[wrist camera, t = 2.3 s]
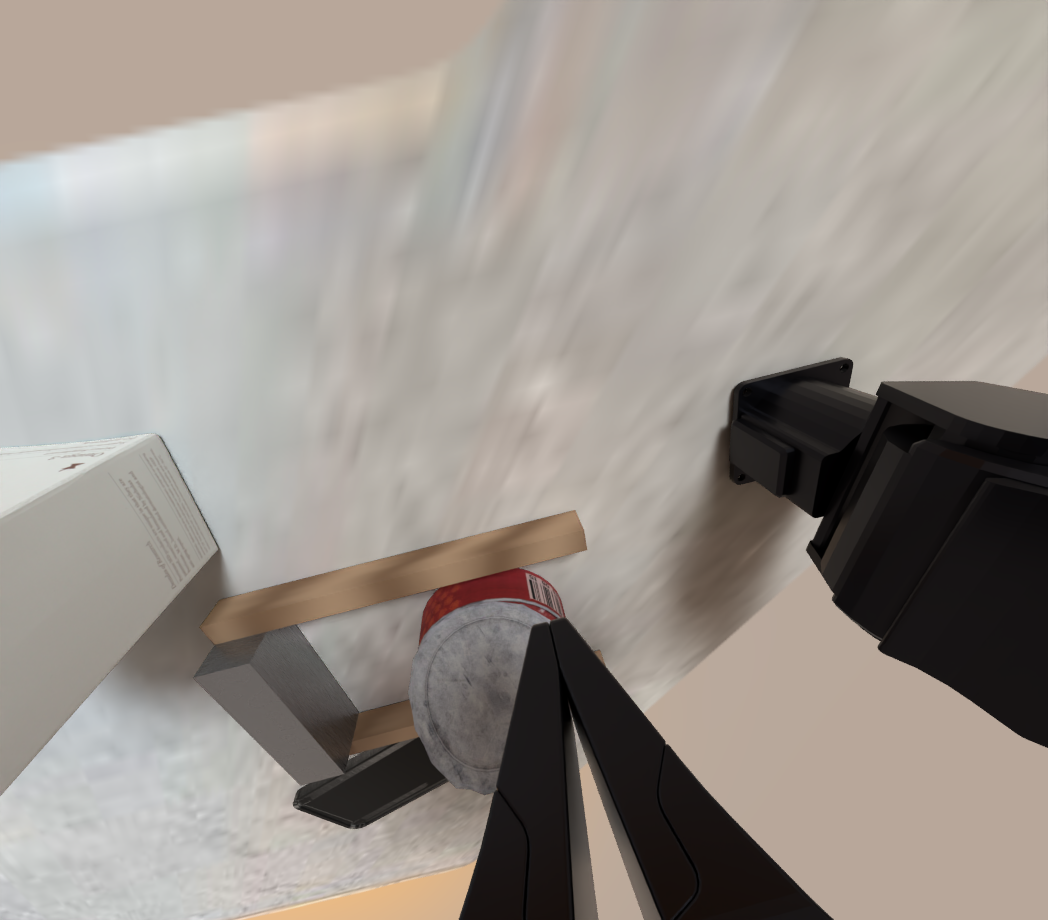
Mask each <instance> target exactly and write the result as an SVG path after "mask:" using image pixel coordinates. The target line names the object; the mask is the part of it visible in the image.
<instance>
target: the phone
mask: <svg viewBox="0 0 1048 920" xmlns="http://www.w3.org/2000/svg"><path fill="white" fill-rule="evenodd" d="M448 781H449V780H448V779H447V778H446V777H445V776H444V775H443V774H442V773H441V772H440V771H439V770H438V769H437V768H436V767H435V766H434V765H433V764H432V763H431V761H430V758H429V756H428V754H427V751H426V749H425V747H424V744H423V743H422V741H421V739H420V737H417V738H413V739H409V740H405V741H401V742H398V743H394V744H390V745H386V746H382V747H379V748H375V749H371V750H367V751H364V752H362V753H360V754H359V755H357V756H355V757H354V758H352V759H350V760H348V762H347V766H346V770H345V774H343V775H339V776H335V777H331V778H327V779H324V780H320V781H316V782H312V783H309V784H307V785H306V786H304V787H302V788H301V789H299V790H298V791H297V793H296V796H295V799H294V802H293V806H294V808H296V809H298V810H300V811H303V812H306V813H308V814H311V815H314V816H316V817H319V818H322V819H325V820H327V821H330V822H333V823H335V824H338V825H341V826H343V827H346V828H350V829H358V828H363V827H365V826H367V825H369V824H371V823H373V822H374V821H376V820H378V819H380V818H382V817H384V816H385V815H387V814H389V813H391V812H393V811H395V810H397V809H398V808H400V807H402V806H404V805H406V804H408V803H409V802H411V801H413V800H415V799H417V798H419V797H421V796H422V795H424V794H426V793H428V792H430V791H432V790H433V789H435V788H437V787H439V786H441V785H443V784H445V783H446V782H448Z"/></svg>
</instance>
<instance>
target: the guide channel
mask: <svg viewBox="0 0 1048 920" xmlns="http://www.w3.org/2000/svg"><path fill="white" fill-rule="evenodd" d="M585 550H587V546H586V540H585V534H584V529H583V527H582V525H581V522H580V520H579V518H578V516H577V513H576V511H575V510H573V511H569V512H566V513H562V514H558V515H554V516H550V517H546V518H542V519H538V520H534V521H530V522H526V523H522V524H518V525H514V526H510V527H506V528H502V529H498V530H494V531H490V532H486V533H482V534H478V535H474V536H470V537H467V538H463V539H459V540H455V541H451V542H447V543H443V544H439V545H435V546H431V547H427V548H423V549H419V550H415V551H411V552H407V553H403V554H399V555H395V556H391V557H387V558H383V559H379V560H375V561H371V562H368V563H364V564H360V565H356V566H352V567H348V568H344V569H340V570H336V571H332V572H328V573H324V574H320V575H316V576H312V577H308V578H304V579H300V580H296V581H292V582H288V583H284V584H280V585H276V586H272V587H269V588H265V589H261V590H257V591H253V592H249V593H245V594H241V595H237V596H233V597H229V598H225V599H221V600H219V601H218V603H217V604H216V605H215V607H214V608H213V609H212V611H211V612H210V614H209V615H208V616H207V618H206V619H205V620H204V622H203V623H202V624H201V626H200V627H199V628H200V629H201V630H202V631H203V632H204V633H205V635H206V636H207V637H208V638H209V639H210V640H211V641H212V642H213V643H214V645H216V644H220V643H224V642H228V641H232V640H236V639H240V638H244V637H248V636H252V635H256V634H260V633H263V632H267V631H271V630H275V629H279V628H283V627H287V626H291V625H295V624H299V623H303V622H307V621H311V620H314V619H318V618H322V617H326V616H330V615H334V614H338V613H342V612H346V611H350V610H354V609H358V608H361V607H365V606H369V605H373V604H377V603H381V602H385V601H389V600H393V599H397V598H401V597H405V596H409V595H412V594H416V593H420V592H424V591H428V590H432V589H436V588H440V587H444V586H448V585H452V584H456V583H459V582H463V581H467V580H471V579H475V578H479V577H483V576H487V575H491V574H495V573H499V572H503V571H507V570H510V569H514V568H518V567H522V566H526V565H530V564H534V563H538V562H542V561H546V560H550V559H554V558H558V557H561V556H565V555H569V554H573V553H577V552H581V551H585ZM594 653H595V654H596V655H597V656H598V658H599V659H600V660H601V661H602V663H603V664H604V665H605V663H604V660H603V657H602V655H601V652H600V650H598V651H595V652H594ZM417 737H419V736H418V734H417V732H416V730H415V727H414V720H413V714H412V708H411V704H410V700H407V701H403V702H399V703H395V704H392V705H388V706H384V707H380V708H376V709H372V710H369V711H365V712H361V713H359V716H358V720H357V724H356V728H355V732H354V737H353V741H352V745H351V749H350V753H349V755H352V754H356V753H360V752H363V751H367V750H371V749H375V748H379V747H382V746H386V745H390V744H394V743H398V742H401V741H405V740H409V739H413V738H417Z"/></svg>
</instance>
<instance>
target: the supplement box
mask: <svg viewBox="0 0 1048 920" xmlns="http://www.w3.org/2000/svg"><path fill="white" fill-rule="evenodd" d="M217 550H218V547H217V546H216V543H215V541H214V539H213V537H212V535H211V533H210V531H209V529H208V528H207V526H206V524H205V522H204V520H203V518H202V516H201V514H200V512H199V510H198V508H197V506H196V504H195V502H194V501H193V499H192V497H191V495H190V492H189V490H188V488H187V487H186V485H185V483H184V481H183V479H182V478H181V476H180V474H179V472H178V470H177V468H176V466H175V464H174V462H173V460H172V459H171V456H170V454H169V452H168V451H167V449H166V447H165V445H164V444H163V442H162V440H161V439H160V437H159V436H158V435H157V434H153V433H150V434H143V435H136V436H129V437H121V438H113V439H104V440H96V441H85V442H75V443H64V444H51V445H38V446H26V447H9V448H0V796H1V795H2V794H3V793H4V791H5V790H6V789H7V788H8V787H9V786H10V785H11V783H12V782H13V781H14V780H15V779H16V778H17V777H18V776H19V774H20V773H21V772H22V771H23V770H24V769H25V768H26V766H27V765H28V764H29V763H30V762H31V761H32V760H33V758H34V757H35V756H36V755H37V754H38V753H39V752H40V751H41V749H42V748H43V747H44V746H45V745H46V744H47V743H48V742H49V741H50V739H51V738H52V737H53V736H54V735H55V734H56V732H57V731H58V730H59V729H60V728H61V727H62V726H63V724H64V723H65V722H66V721H67V720H68V719H69V718H70V717H71V716H72V714H73V713H74V712H75V711H76V710H77V709H78V708H79V706H80V705H81V704H82V703H83V702H84V701H85V700H86V698H87V697H88V696H89V695H90V694H91V693H92V692H93V691H94V689H95V688H96V687H97V686H98V685H99V684H100V683H101V681H102V680H103V679H104V678H105V677H106V676H107V675H108V674H109V672H110V671H111V670H112V669H113V668H114V667H115V666H116V665H117V663H118V662H119V661H120V660H121V659H122V658H123V657H124V656H125V654H126V653H127V652H128V651H129V650H130V649H131V648H132V646H133V645H134V644H135V643H136V642H137V641H138V640H139V639H140V637H141V636H142V635H143V634H144V633H145V632H146V631H147V629H148V628H149V627H150V626H151V625H152V624H153V623H154V621H155V620H156V619H157V618H158V617H159V616H160V615H161V613H162V612H163V611H164V610H165V609H166V608H167V607H168V605H169V604H170V603H171V602H172V601H173V600H174V599H175V598H176V596H177V595H178V594H179V593H180V592H181V591H182V590H183V589H184V587H185V586H186V585H187V584H188V583H189V582H190V581H191V579H192V578H193V577H194V576H195V575H196V574H197V573H198V572H199V570H200V569H201V568H202V567H203V566H204V565H205V564H206V562H207V561H208V560H209V559H210V558H211V557H212V556H213V554H214V553H215V552H217Z"/></svg>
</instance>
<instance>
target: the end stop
mask: <svg viewBox="0 0 1048 920" xmlns="http://www.w3.org/2000/svg"><path fill="white" fill-rule="evenodd" d="M193 678H194V679H195V680H196V681H197V682H198V683H199V684H200V685H201V686H202V687H203V688H204V689H205V690H206V691H207V692H208V693H209V694H210V695H211V696H212V697H213V698H214V699H215V700H216V701H217V702H218V703H219V704H220V705H221V706H222V707H223V708H224V709H225V710H226V711H227V712H228V713H229V714H230V715H231V716H232V717H233V718H234V719H235V720H236V721H237V722H238V723H239V724H240V725H241V726H242V727H243V728H244V729H245V730H246V731H247V732H248V733H249V734H250V735H251V736H252V737H253V738H254V739H255V740H256V741H257V742H258V743H259V744H260V745H261V746H262V747H263V748H264V749H265V750H266V751H267V752H268V753H269V754H270V755H271V756H272V757H273V758H274V759H275V760H276V761H277V762H278V763H279V764H280V765H281V766H282V767H283V768H284V769H285V770H286V771H287V772H288V773H289V774H290V775H291V776H292V777H293V778H294V779H295V780H296V781H297V782H298V783H299V784H300V785H305V784H309V783H312V782H316V781H320V780H324V779H327V778H331V777H335V776H339V775H343V774H345V770H346V766H347V762H348V757H349V753H350V749H351V745H352V741H353V737H354V732H355V728H356V724H357V720H358V716H359V712H358V711H357V709H356V708H355V707H354V705H353V704H352V702H351V701H350V700H349V698H348V697H347V695H346V694H345V693H344V691H343V690H342V688H341V687H340V686H339V684H338V683H337V682H336V680H335V679H334V677H333V676H332V675H331V673H330V672H329V670H328V669H327V668H326V666H325V665H324V663H323V662H322V661H321V659H320V658H319V656H318V655H317V654H316V652H315V651H314V650H313V648H312V647H311V645H310V644H309V643H308V641H307V640H306V638H305V637H304V636H303V634H302V633H301V631H300V630H299V629H298V627H297V626H296V624H295V625H291V626H287V627H283V628H279V629H275V630H271V631H267V632H263V633H260V634H256V635H252V636H248V637H244V638H240V639H236V640H232V641H228V642H224V643H220V644H216V645H214V647H213V648H212V650H211V651H210V653H209V654H208V656H207V658H206V659H205V661H204V662H203V664H202V665H201V667H200V668H199V670H198V671H197V673H196V674H195V676H194V677H193Z"/></svg>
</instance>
